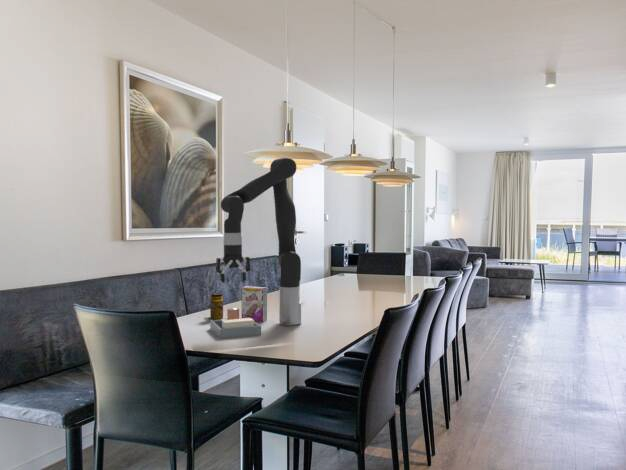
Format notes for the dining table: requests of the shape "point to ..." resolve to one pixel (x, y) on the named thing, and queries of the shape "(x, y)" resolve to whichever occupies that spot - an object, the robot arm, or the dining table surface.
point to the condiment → (216, 307)
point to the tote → (234, 330)
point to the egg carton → (237, 323)
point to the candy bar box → (254, 303)
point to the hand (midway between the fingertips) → (233, 282)
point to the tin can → (232, 313)
